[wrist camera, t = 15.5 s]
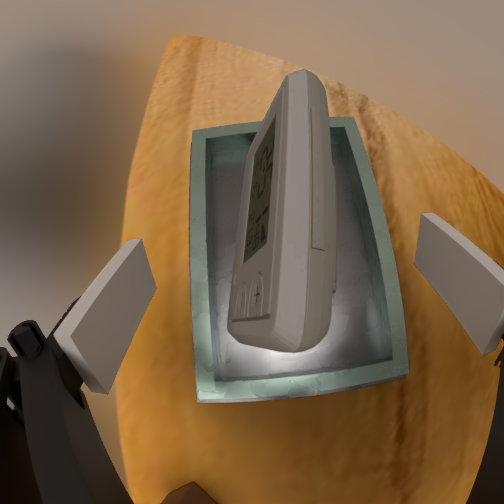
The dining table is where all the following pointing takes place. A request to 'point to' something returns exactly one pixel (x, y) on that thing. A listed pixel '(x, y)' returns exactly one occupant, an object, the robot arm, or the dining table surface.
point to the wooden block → (188, 496)
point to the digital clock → (287, 225)
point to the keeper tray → (344, 299)
